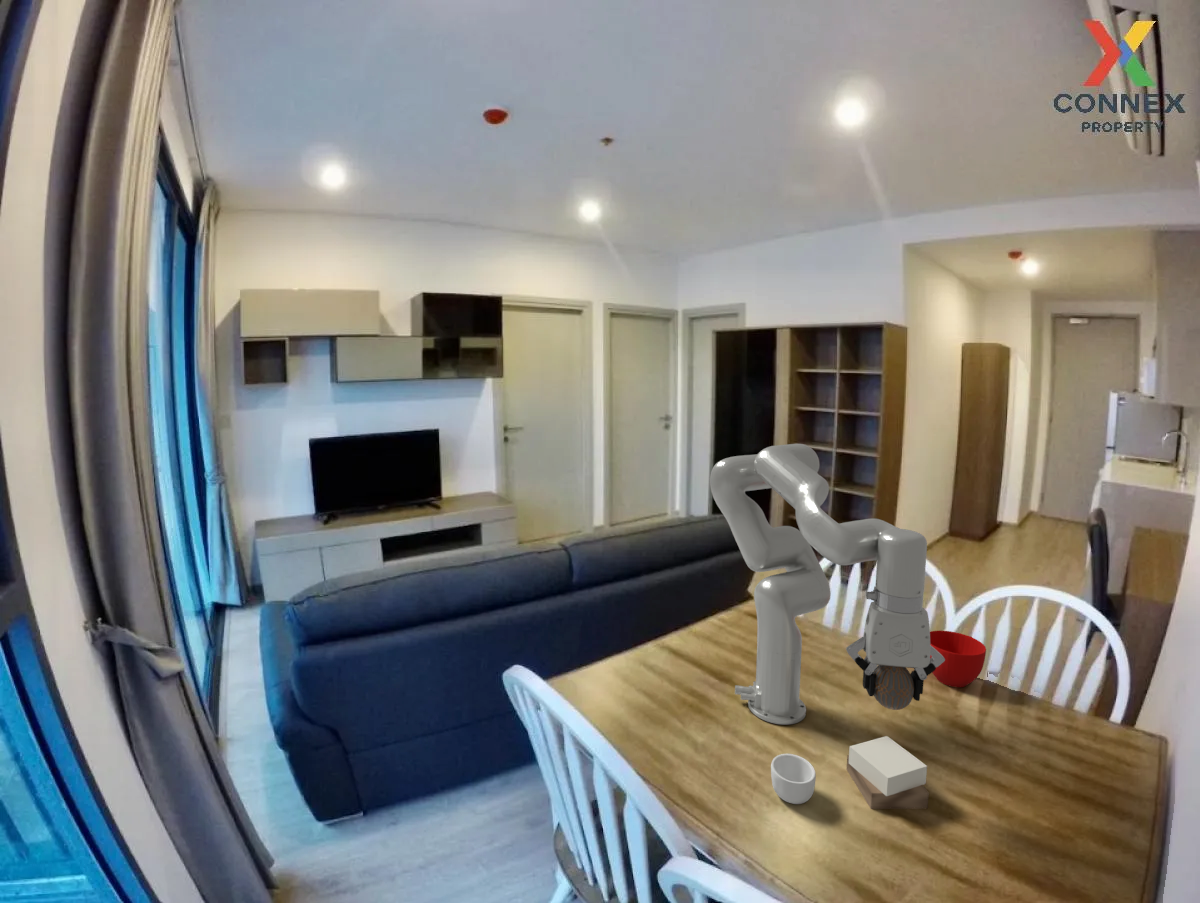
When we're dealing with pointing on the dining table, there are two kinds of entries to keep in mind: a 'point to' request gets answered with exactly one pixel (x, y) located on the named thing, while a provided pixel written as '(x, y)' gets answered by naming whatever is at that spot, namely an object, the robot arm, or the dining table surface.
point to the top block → (887, 765)
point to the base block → (878, 800)
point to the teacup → (793, 778)
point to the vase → (893, 686)
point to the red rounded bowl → (957, 657)
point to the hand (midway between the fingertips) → (891, 693)
